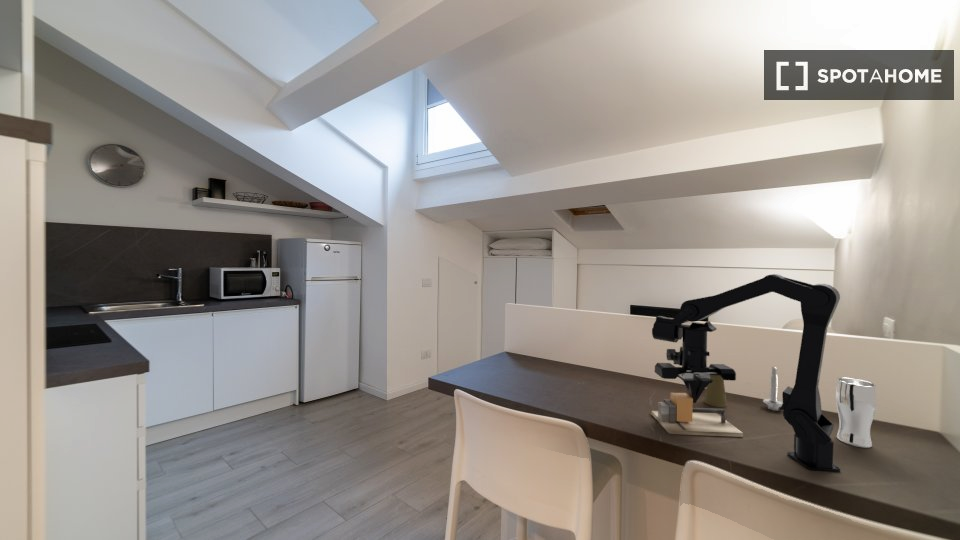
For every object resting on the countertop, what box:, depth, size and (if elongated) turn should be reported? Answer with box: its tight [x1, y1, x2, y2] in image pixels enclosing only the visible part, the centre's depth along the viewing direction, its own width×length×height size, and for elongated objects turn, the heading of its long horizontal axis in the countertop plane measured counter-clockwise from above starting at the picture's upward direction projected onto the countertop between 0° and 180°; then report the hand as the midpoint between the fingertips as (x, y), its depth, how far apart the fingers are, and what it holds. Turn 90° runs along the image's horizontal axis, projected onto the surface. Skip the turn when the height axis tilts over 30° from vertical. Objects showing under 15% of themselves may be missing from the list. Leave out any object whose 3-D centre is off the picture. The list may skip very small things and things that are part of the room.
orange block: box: [670, 392, 694, 422], centre depth 99 cm, size 4×4×6 cm
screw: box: [762, 366, 783, 412], centre depth 110 cm, size 13×5×5 cm
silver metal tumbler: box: [835, 377, 877, 449], centre depth 90 cm, size 7×7×15 cm
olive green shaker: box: [703, 375, 728, 408], centre depth 114 cm, size 6×6×11 cm
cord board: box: [650, 398, 744, 438], centre depth 99 cm, size 12×18×6 cm, turn 85°
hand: (693, 402), depth 99 cm, fingers closed
